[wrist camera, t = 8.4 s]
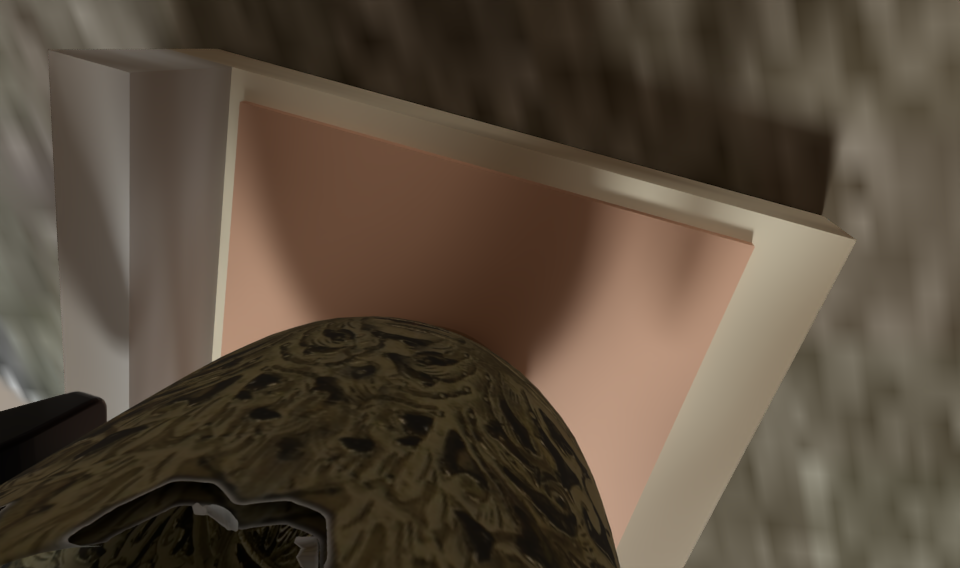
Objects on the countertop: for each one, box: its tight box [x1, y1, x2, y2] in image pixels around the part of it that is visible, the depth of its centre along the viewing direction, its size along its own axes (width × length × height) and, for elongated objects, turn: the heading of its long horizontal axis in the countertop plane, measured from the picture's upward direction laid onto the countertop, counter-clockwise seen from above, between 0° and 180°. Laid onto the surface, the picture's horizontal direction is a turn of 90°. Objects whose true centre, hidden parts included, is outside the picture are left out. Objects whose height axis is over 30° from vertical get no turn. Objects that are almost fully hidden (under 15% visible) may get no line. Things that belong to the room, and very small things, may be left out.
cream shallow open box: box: [48, 49, 856, 568], centre depth 11 cm, size 12×10×4 cm
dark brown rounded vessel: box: [0, 316, 620, 568], centre depth 8 cm, size 8×7×8 cm
